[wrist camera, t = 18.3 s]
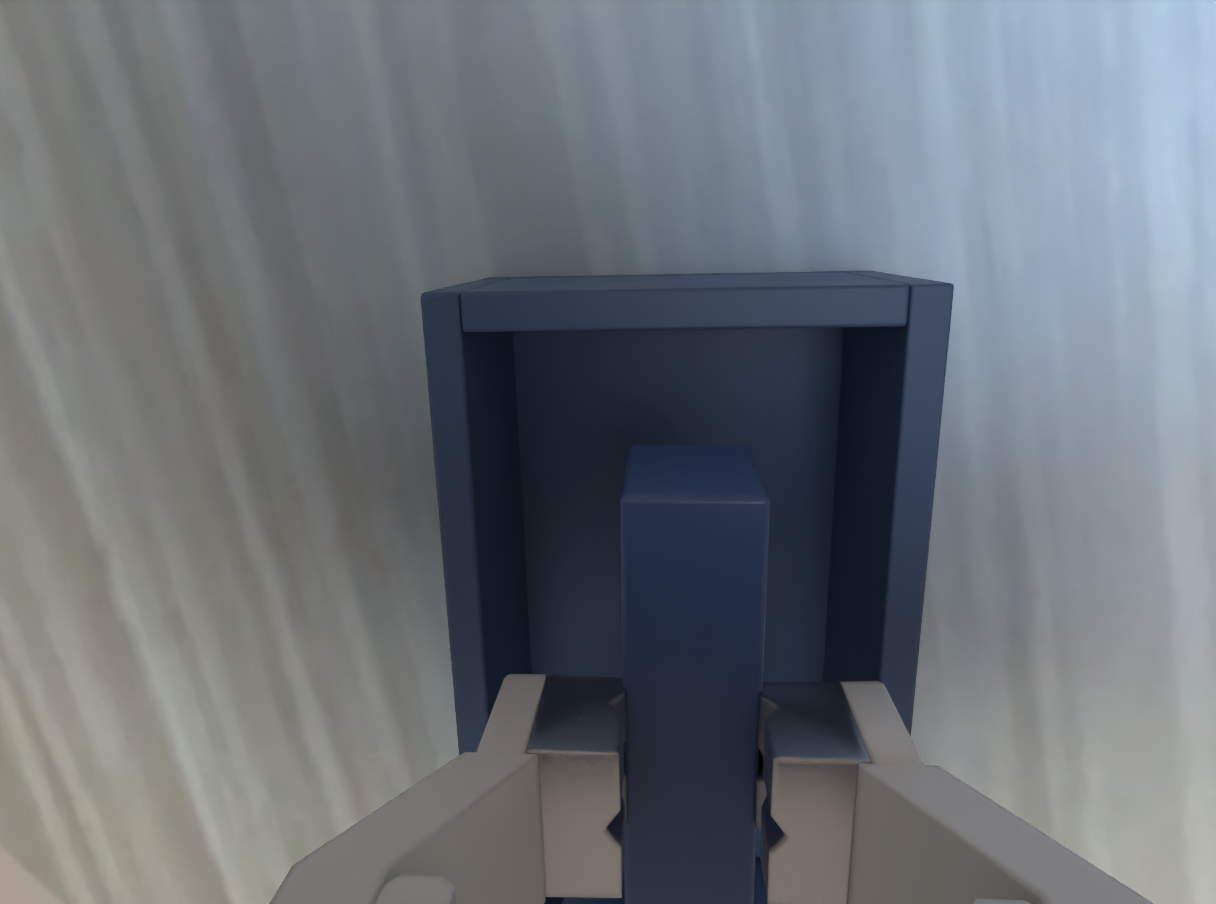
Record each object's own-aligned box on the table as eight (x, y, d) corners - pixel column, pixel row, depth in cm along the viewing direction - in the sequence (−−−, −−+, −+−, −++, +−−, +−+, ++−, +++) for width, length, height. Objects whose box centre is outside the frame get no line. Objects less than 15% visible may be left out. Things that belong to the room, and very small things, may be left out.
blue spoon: (533, 443, 10) (499, 494, 8) (850, 444, 10) (899, 498, 8) (558, 1036, 13) (537, 1189, 11) (808, 1053, 13) (836, 1213, 11)
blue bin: (521, 852, 20) (481, 1027, 15) (486, 277, 16) (418, 293, 11) (831, 863, 19) (881, 1049, 15) (872, 270, 15) (955, 283, 11)
